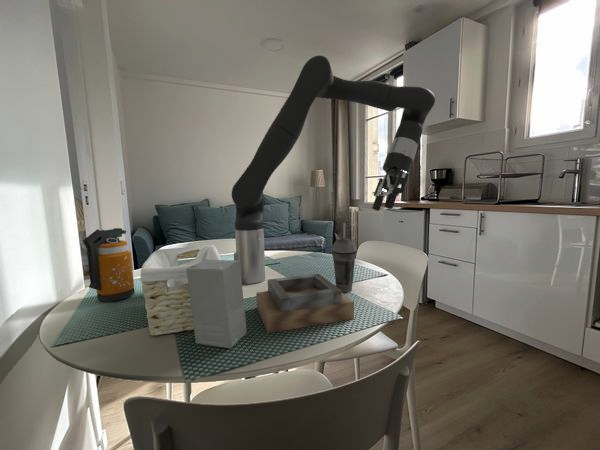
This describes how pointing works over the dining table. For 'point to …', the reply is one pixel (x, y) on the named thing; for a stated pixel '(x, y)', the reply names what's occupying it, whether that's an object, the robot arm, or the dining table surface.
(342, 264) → the beverage cup
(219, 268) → the skincare box
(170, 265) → the storage basket
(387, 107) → the robot arm
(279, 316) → the cup block
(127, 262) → the canister
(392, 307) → the dining table surface
